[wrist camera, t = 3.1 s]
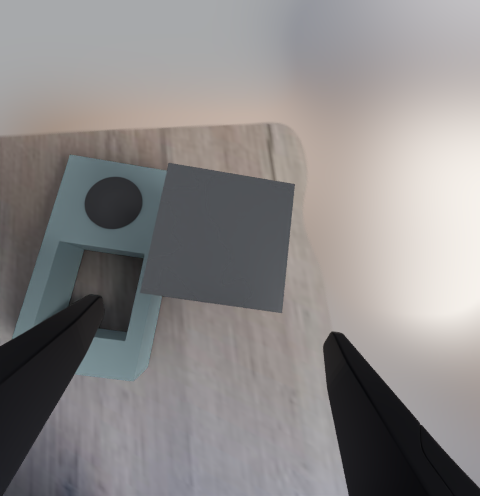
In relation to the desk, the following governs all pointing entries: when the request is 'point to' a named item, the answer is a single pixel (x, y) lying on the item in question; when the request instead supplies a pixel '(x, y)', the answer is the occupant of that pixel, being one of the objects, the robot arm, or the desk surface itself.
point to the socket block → (101, 240)
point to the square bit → (220, 239)
